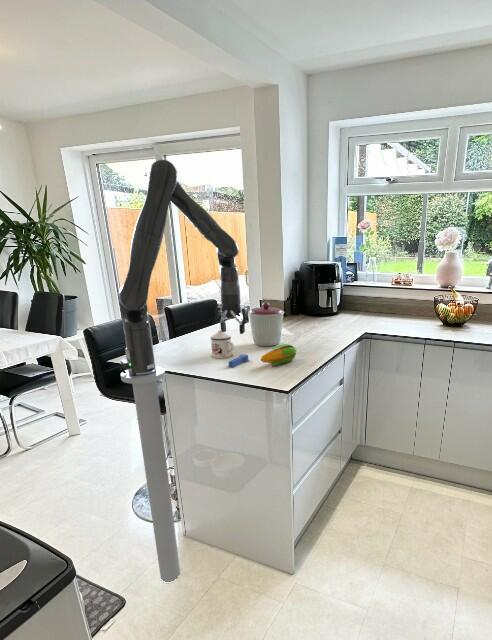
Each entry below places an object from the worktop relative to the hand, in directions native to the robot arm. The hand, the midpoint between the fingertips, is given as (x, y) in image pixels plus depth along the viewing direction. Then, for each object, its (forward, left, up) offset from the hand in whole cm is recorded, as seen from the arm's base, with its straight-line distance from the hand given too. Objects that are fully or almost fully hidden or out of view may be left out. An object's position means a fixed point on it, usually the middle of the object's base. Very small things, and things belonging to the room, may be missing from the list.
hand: (233, 332), depth 163 cm
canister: (+31, +23, -14) cm, 41 cm away
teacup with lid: (+3, +15, -14) cm, 21 cm away
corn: (+17, -9, -14) cm, 23 cm away
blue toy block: (+3, +1, -14) cm, 14 cm away
